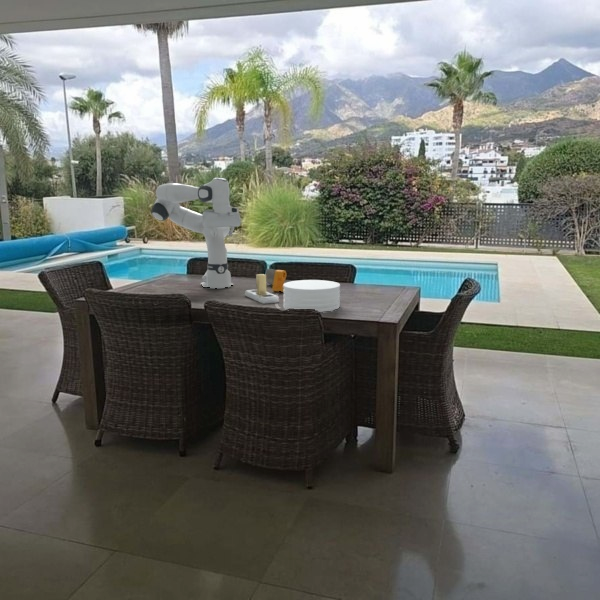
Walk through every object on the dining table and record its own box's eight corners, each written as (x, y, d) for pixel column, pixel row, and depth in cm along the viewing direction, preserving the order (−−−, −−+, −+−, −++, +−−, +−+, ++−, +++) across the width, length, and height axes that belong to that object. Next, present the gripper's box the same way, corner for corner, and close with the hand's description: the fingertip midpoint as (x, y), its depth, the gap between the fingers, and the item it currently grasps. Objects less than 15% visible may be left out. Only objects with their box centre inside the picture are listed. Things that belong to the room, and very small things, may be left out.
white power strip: (245, 295, 317) (245, 290, 317) (260, 294, 321) (260, 289, 321) (262, 303, 296) (262, 298, 296) (278, 302, 300) (278, 296, 300)
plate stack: (337, 301, 303) (337, 279, 301) (342, 313, 276) (342, 289, 273) (283, 301, 302) (283, 280, 300) (283, 313, 275) (283, 289, 272)
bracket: (283, 293, 325) (283, 271, 323) (272, 292, 329) (272, 271, 326) (292, 290, 335) (292, 269, 332) (281, 289, 338) (281, 268, 336)
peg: (256, 298, 310) (256, 274, 307) (263, 298, 311) (263, 274, 309) (259, 300, 306) (259, 275, 304) (266, 299, 308) (266, 275, 305)
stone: (287, 286, 346) (287, 270, 344) (282, 287, 342) (281, 270, 340) (269, 283, 356) (269, 267, 354) (264, 284, 353) (264, 268, 351)
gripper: (204, 210, 297) (205, 237, 300) (241, 209, 306) (242, 235, 309) (200, 209, 303) (201, 236, 305) (237, 208, 312) (238, 234, 315)
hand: (222, 235), depth 307 cm, fingers open, 8 cm apart
